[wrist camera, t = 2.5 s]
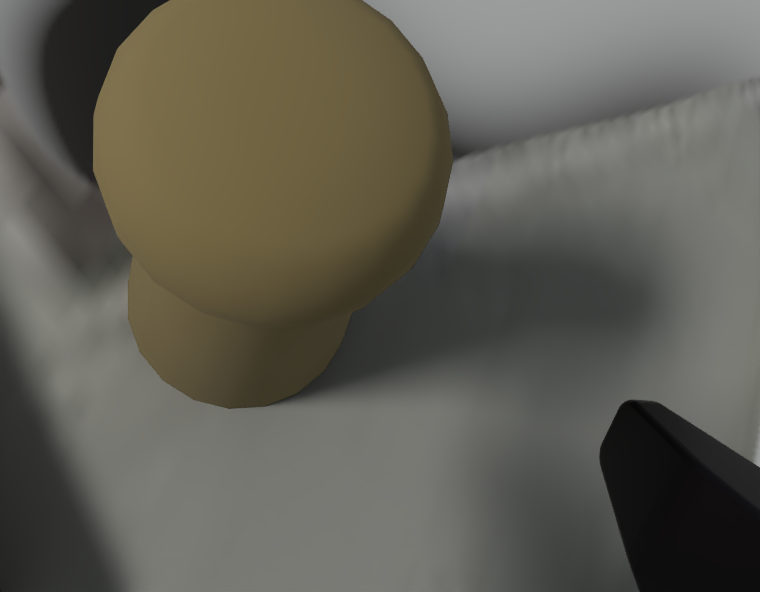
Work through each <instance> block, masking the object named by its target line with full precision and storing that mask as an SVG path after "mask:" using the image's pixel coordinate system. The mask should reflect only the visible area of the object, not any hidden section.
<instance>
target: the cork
mask: <svg viewBox="0 0 760 592" xmlns="http://www.w3.org/2000/svg"><path fill="white" fill-rule="evenodd" d="M448 123H449V122H448V114H447V111H446V109H445V107H444V105H443V102H442V100H441V98H440V96H439V94H438V91H437V89H436V87H435V84H434V83H433V80H432V78H431V75H430V73H429V71H428V69H427V67H426V64H425V62H424V60H423V58H422V57H421V56H420V54H419V53H418V52H417V51H416V50H415V48H414V47H413V46H412V45H411V44H410V42H409V41H408V40H407V39H406V38H405V36H404V35H403V34H402V33H401V32H400V30H399V29H398V28H397V27H396V26H395V24H394V23H393V22H392V21H391V20H389V19H388V18H387V17H385V16H384V15H382V14H381V13H380V12H378V11H377V10H375V9H374V8H372V7H371V6H370V5H368V4H367V3H365V2H364V1H362V0H170V1H168V2H166V3H165V4H163V5H161V6H159V7H158V8H156V9H154V10H153V11H152V12H151V13H150V14H149V15H148V16H147V17H146V18H145V19H144V20H143V21H142V23H141V24H140V25H139V26H138V27H137V28H136V29H135V30H134V31H133V32H132V33H131V35H130V36H129V37H128V38H127V39H126V40H125V41H124V42H123V43H122V45H120V47H119V48H118V49H117V51H116V54H115V57H114V59H113V61H112V65H111V67H110V69H109V72H108V74H107V77H106V79H105V82H104V84H103V87H102V89H101V92H100V94H99V97H98V100H97V104H96V108H95V112H94V130H93V131H94V132H93V135H94V137H93V139H94V140H93V145H94V146H93V171H94V174H95V177H96V179H97V182H98V185H99V188H100V190H101V193H102V196H103V199H104V201H105V204H106V207H107V210H108V212H109V215H110V218H111V221H112V223H113V226H114V228H115V231H116V233H117V236H118V238H119V239H120V241H121V242H122V243H123V244H124V245H125V247H126V248H127V249H128V250H129V252H130V253H131V254H132V255H133V257H132V263H131V269H130V275H129V281H128V320H129V323H130V326H131V328H132V331H133V334H134V337H135V339H136V342H137V345H138V348H139V351H140V353H141V354H142V355H143V356H144V358H145V359H146V360H147V361H148V363H149V364H150V365H151V366H152V368H153V369H154V370H155V371H156V373H157V374H158V375H159V376H160V377H161V379H162V380H163V381H165V382H166V383H168V384H170V385H171V386H173V387H174V388H176V389H177V390H179V391H181V392H182V393H184V394H185V395H187V396H189V397H190V398H192V399H193V400H197V401H201V402H205V403H209V404H213V405H217V406H221V407H225V408H229V409H231V408H246V407H261V406H267V405H269V404H272V403H274V402H277V401H279V400H282V399H284V398H287V397H289V396H292V395H294V394H297V393H299V392H300V391H301V390H302V389H303V388H305V387H306V386H307V385H308V384H309V383H311V382H312V381H313V380H314V379H315V378H317V377H318V376H319V375H320V374H321V373H323V372H324V371H325V369H326V367H327V366H328V364H329V363H330V361H331V359H332V358H333V356H334V355H335V353H336V351H337V350H338V348H339V347H340V345H341V343H342V341H343V338H344V335H345V332H346V329H347V326H348V324H349V321H350V318H351V315H352V312H354V311H357V310H360V309H362V308H364V307H365V306H366V305H368V304H369V303H370V302H371V301H373V300H374V299H375V298H376V297H377V296H379V295H380V294H381V293H382V292H384V291H385V290H386V289H387V288H389V287H390V286H391V285H392V284H394V283H395V282H396V281H397V280H399V279H400V278H401V277H402V276H403V275H404V274H406V273H407V272H408V271H409V270H410V269H411V268H413V266H414V265H415V263H416V261H417V260H418V258H419V256H420V255H421V253H422V252H423V250H424V248H425V247H426V245H427V243H428V242H429V240H430V238H431V237H432V235H433V234H434V232H435V230H436V229H437V227H438V225H439V222H440V218H441V214H442V211H443V206H444V202H445V197H446V192H447V188H448V183H449V178H450V174H451V169H452V164H453V157H452V149H451V139H450V131H449V124H448Z"/></svg>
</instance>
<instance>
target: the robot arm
mask: <svg viewBox="0 0 760 592" xmlns="http://www.w3.org/2000/svg"><path fill="white" fill-rule="evenodd" d="M599 458H600V465H601V469H602V473H603V476H604V479H605V483H606V486H607V490H608V493H609V496H610V500H611V503H612V507H613V510H614V514H615V517H616V520H617V524H618V527H619V531H620V534H621V538H622V541H623V544H624V548H625V551H626V555H627V558H628V561H629V564H630V567H631V570H632V573H633V576H634V578H635V581H636V584H637V586H638V589H639V592H760V467H758V466H757V465H755V464H754V463H752V462H751V461H749V460H747V459H746V458H744V457H743V456H741V455H740V454H738V453H736V452H735V451H733V450H732V449H730V448H729V447H727V446H726V445H724V444H722V443H721V442H719V441H718V440H716V439H715V438H713V437H712V436H710V435H708V434H707V433H705V432H704V431H702V430H701V429H699V428H697V427H696V426H694V425H693V424H691V423H690V422H688V421H687V420H685V419H683V418H682V417H680V416H679V415H677V414H676V413H674V412H673V411H671V410H669V409H668V408H666V407H665V406H663V405H662V404H660V403H658V402H655V401H645V400H628V401H625V402H624V403H623V404H622V405H621V406H620V407H619V409H618V411H617V413H616V415H615V417H614V419H613V421H612V424H611V426H610V428H609V430H608V432H607V434H606V436H605V438H604V440H603V442H602V445H601V448H600V456H599Z"/></svg>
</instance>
